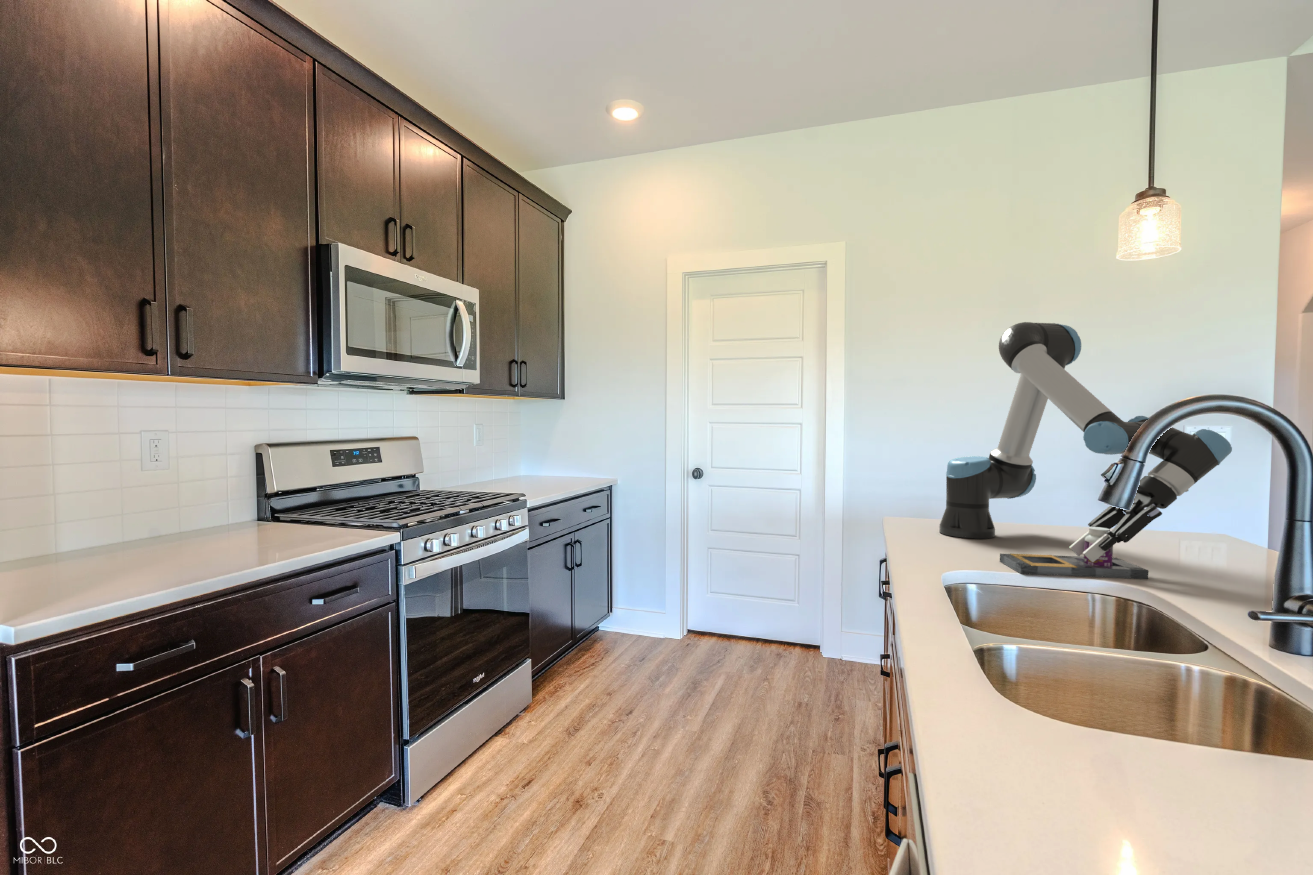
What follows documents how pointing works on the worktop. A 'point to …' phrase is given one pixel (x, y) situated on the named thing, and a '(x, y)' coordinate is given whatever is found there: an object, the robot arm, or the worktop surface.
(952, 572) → the worktop surface
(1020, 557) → the rail plate
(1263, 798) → the worktop surface
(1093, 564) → the pill bottle
